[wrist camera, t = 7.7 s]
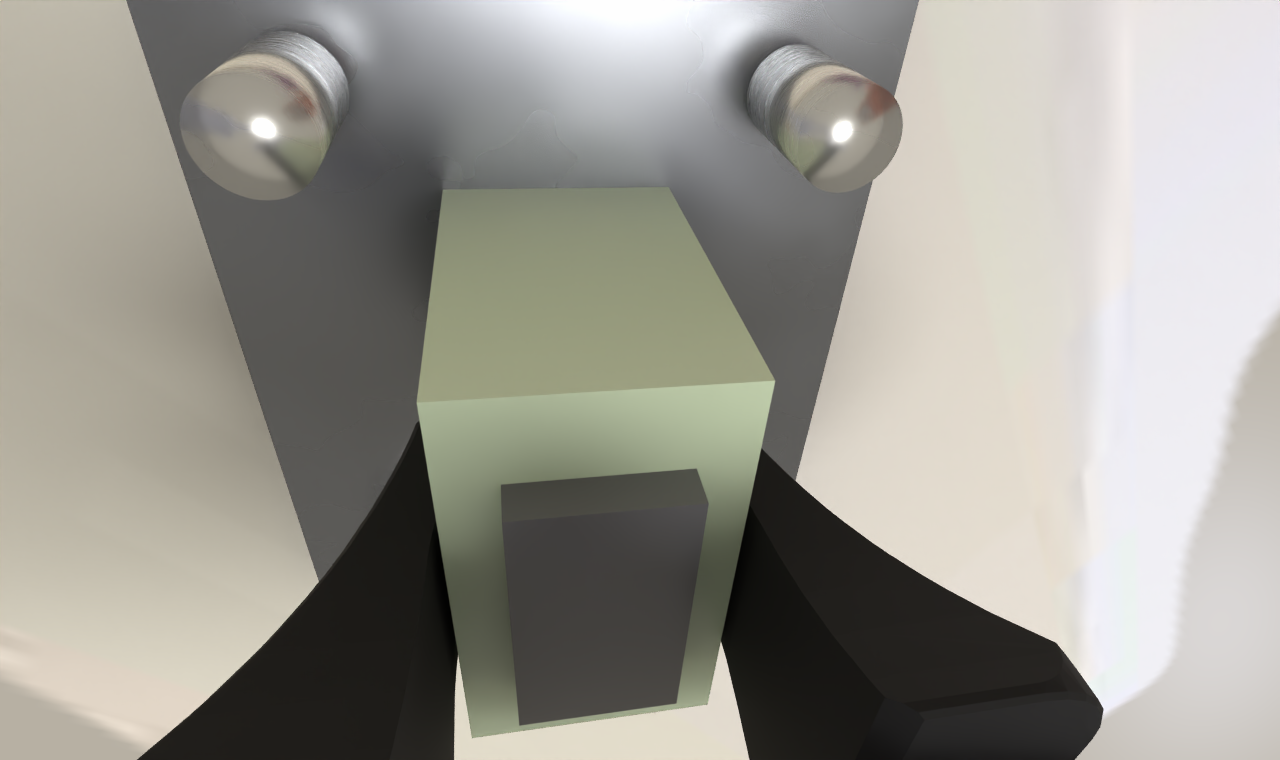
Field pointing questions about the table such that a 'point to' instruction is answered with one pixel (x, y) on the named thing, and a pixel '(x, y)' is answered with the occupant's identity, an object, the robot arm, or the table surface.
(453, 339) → the block
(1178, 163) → the table surface
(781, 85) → the chassis
